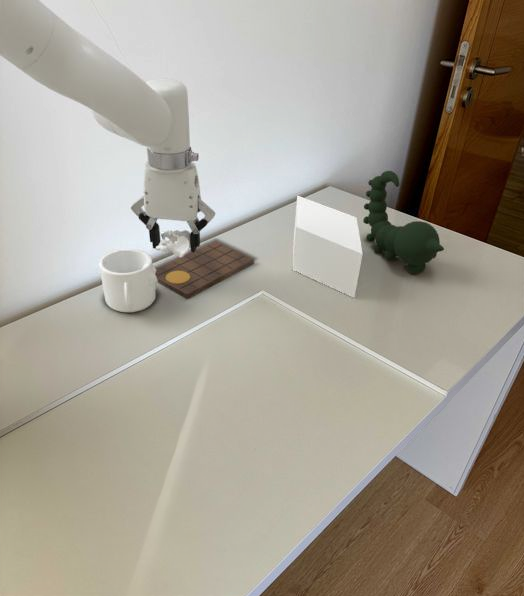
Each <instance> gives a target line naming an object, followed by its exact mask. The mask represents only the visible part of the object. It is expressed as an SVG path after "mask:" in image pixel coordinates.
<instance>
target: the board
mask: <svg viewBox="0 0 524 596" xmlns="http://www.w3.org/2000/svg"><path fill="white" fill-rule="evenodd" d="M254 264H255V258H253V257H251V256H249V255H247V254H245V253H243V252H241V251H239V250H237V249H234V248H232V247H231V246H228V245H226V244H224V243H222V242H220V241H218V240H214V241H212V242H210V243H207V244H205V245H203V246H201V247H198V248H196V251H195V253H194V252H191V251H190V252H187V253H186V254H185V255H184V256H183V257H182V258H179V257H177V258H175V259H173V260H171V261H169V262H167V263H164V264H162V265H160V266H158V267H155V268H156V273H155V275H156V277H157V280H158V282H157V284H160V285H162V286H163V287H165V288H167V289H169V290H170V291H173V292H174V293H176V294H177V295H178V296H181V297H183V298H184V299H186V300H189V299H190V298H192V297H194V296H196V295H198V294H200V293H201V292H203V291H205V290H207V289H209V288H211V287H213V286H215V285H216V284H218V283H221V282H222V281H224V280H225V279H228V278H230V277H232V276H233V275H235V274H237V273H239V272H241V271H243V270H244V269H246V268H248V267H250V266H252V265H254Z"/></svg>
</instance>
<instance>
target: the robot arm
mask: <svg viewBox="0 0 524 596" xmlns="http://www.w3.org/2000/svg"><path fill="white" fill-rule="evenodd" d="M0 57H2V58H3V59H5V60H6V61H7V62H9V63H10V64H12V65H14V66H15V67H16V68H17V69H19V70H20V71H21V72H23V73H24V74H26V75H27V76H28V77H30V78H31V79H33V80H34V81H35V82H37V83H39V84H40V85H42V86H44V87H46V88H47V89H49V90H51V91H53V92H55V93H57V94H58V95H61V96H63V97H65V98H67V99H70V100H72V101H75V102H77V103H79V104H81V105H83V106H84V107H87V108H88V109H90V110H91V112H92V115H93V117H94V119H95V121H96V122H97V123H98V125H100V126H101V127H102V128H103V129H105V130H106V131H108V132H109V133H112V134H114V135H117V136H119V137H122V138H124V139H127V140H129V141H131V142H134V143H135V144H137V145H139V146H143V147H146V154H147V161H146V163H145V165H144V173H143V195H142V196H141V197H140V198H139V199H138V200H137V201H135V202H134V203H132V205H131V206H130V210H131V211H132V213H134V215H136V216H137V217H138V220H139V221H140V222H141V223H143V224H144V225H145V227H146V229H147V230H148V235H149V242H150V243H151V245H152V249H154V250H156V246H158V245H161V240H162V239H161V231H160V229H161V228H160V225H159V223H158V220H167V221H168V220H169V221H177V222H186V224H187V225H188V226H189V228H190V231H191V232H190V233H191V234H190V252H194V253H195V251H196V250H197V249H198V248H200V246H201V231H202V230H203V229H204V228H206V226H207V225H208V224H209V223H210V222H211V221H212V220H213V219H214V218H215V216H216V212H215V210H213V208H211V206H209V205H208V204H206V202H204V201H203V200H202V196H201V187H200V179H199V174H198V170H197V165H196V164H195V162H199V159H200V158H199V152H194V151H193V150H192V147H191V139H190V138H191V137H190V118H189V117H190V115H189V114H190V113H189V112H190V111H189V95H188V89H187V86H186V85H185V84H184V83H183V82H182V81H180V80H177V79H172V78H154V79H150V80H147V81H146V82H145V80H143V79H142V78H141V77H140V76H138V74H136V73H135V72H134V71H132V70H131V69H130V68H129V67H127V66H126V65H124V64H123V63H122V62H120V61H119V60H117V59H116V58H114V57H113V56H111V55H110V54H108V53H107V52H106V51H105V50H103V49H102V48H100V47H99V46H98V45H96V44H95V43H94V42H92V40H90V39H88V38H87V37H86V36H85V35H82V34H81V33H80V32H78V31H77V30H76V29H74V28H73V27H72V26H70V25H69V24H68V23H67V22H65V21H64V20H63V19H62V18H60V17H59V16H58V15H57V14H56V13H54V11H52V10H51V9H50V8H49V7H48V6H46V5H45V4H44V3H43V2H42V1H41V0H0ZM143 207H144V209H143ZM199 213H202V214H204V216H203V217H202V218H201V219H199V218H198V214H199Z"/></svg>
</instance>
